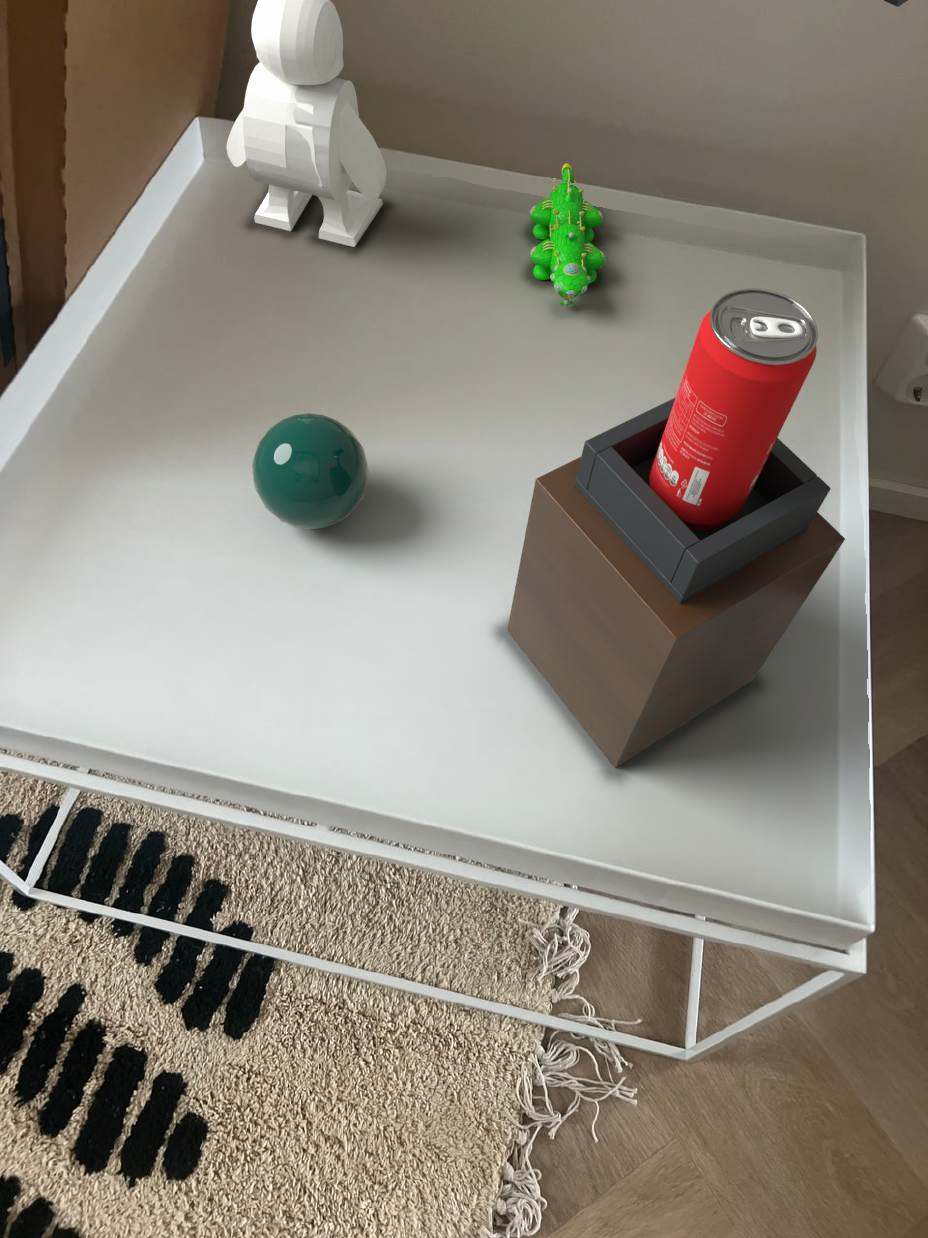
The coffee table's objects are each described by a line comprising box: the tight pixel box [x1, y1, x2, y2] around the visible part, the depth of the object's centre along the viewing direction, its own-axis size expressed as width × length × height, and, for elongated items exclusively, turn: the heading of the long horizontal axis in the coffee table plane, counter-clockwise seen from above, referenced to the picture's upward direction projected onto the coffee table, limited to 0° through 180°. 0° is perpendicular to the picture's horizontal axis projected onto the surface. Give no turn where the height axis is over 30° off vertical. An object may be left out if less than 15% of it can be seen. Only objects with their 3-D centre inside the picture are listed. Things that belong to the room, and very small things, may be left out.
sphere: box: [251, 412, 369, 530], centre depth 68 cm, size 8×8×8 cm
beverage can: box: [649, 287, 819, 532], centre depth 47 cm, size 5×5×12 cm
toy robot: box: [225, 0, 387, 248], centre depth 80 cm, size 14×9×20 cm, turn 73°
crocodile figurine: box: [529, 163, 607, 307], centre depth 87 cm, size 7×18×4 cm, turn 178°
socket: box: [574, 396, 831, 604], centre depth 51 cm, size 9×9×4 cm
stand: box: [506, 456, 846, 769], centre depth 60 cm, size 12×12×16 cm
